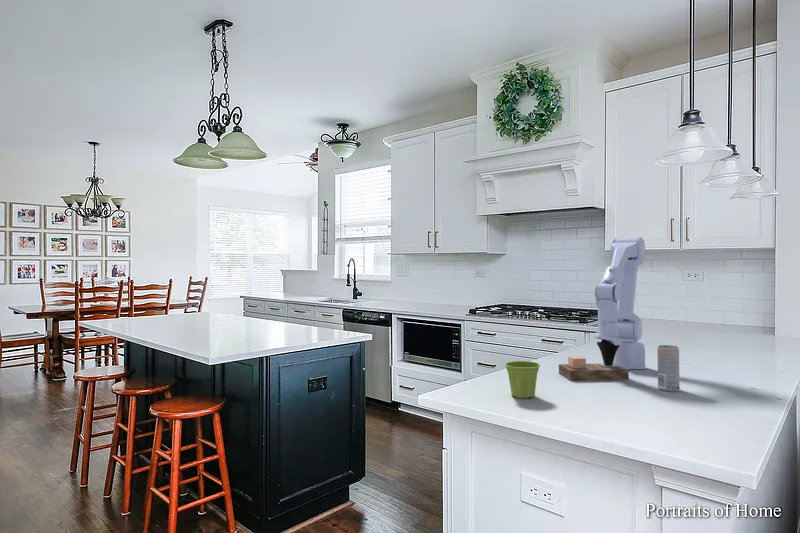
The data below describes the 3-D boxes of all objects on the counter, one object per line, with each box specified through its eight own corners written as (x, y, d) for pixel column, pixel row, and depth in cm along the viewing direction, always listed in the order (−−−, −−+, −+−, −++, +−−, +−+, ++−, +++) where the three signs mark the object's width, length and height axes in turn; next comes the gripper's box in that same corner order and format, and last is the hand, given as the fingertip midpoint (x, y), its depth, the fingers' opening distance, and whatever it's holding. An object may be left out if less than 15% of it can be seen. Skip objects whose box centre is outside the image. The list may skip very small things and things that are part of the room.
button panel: (613, 372, 168) (613, 363, 168) (628, 379, 158) (628, 369, 158) (558, 373, 167) (558, 364, 167) (570, 380, 157) (570, 370, 157)
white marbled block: (611, 372, 164) (611, 363, 164) (617, 375, 160) (617, 365, 160) (599, 373, 164) (599, 363, 164) (604, 375, 160) (604, 366, 160)
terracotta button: (580, 365, 164) (580, 356, 164) (585, 368, 160) (585, 358, 160) (568, 366, 164) (568, 356, 164) (573, 368, 160) (572, 358, 160)
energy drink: (674, 387, 147) (674, 345, 147) (682, 391, 142) (682, 348, 142) (654, 387, 148) (654, 345, 148) (662, 391, 142) (662, 348, 142)
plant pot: (502, 399, 137) (502, 366, 137) (507, 390, 146) (507, 359, 146) (539, 401, 134) (538, 368, 134) (542, 393, 143) (541, 361, 143)
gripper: (586, 319, 169) (586, 360, 169) (605, 324, 155) (605, 369, 155) (607, 318, 170) (607, 360, 170) (628, 324, 155) (629, 369, 155)
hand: (608, 364), depth 162 cm, fingers closed, pressing on white marbled block
